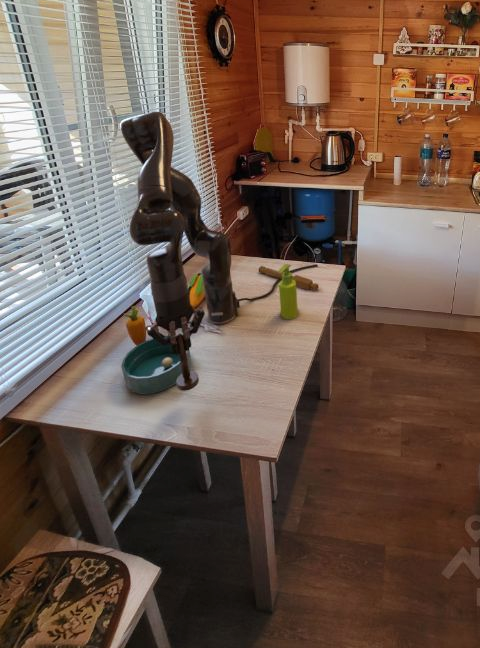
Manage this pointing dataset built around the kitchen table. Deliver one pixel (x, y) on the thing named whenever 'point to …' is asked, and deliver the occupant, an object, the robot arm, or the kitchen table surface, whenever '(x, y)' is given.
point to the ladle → (185, 368)
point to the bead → (167, 362)
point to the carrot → (136, 327)
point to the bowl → (151, 367)
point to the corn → (196, 290)
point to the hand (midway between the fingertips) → (182, 350)
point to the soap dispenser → (287, 294)
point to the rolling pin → (299, 280)
